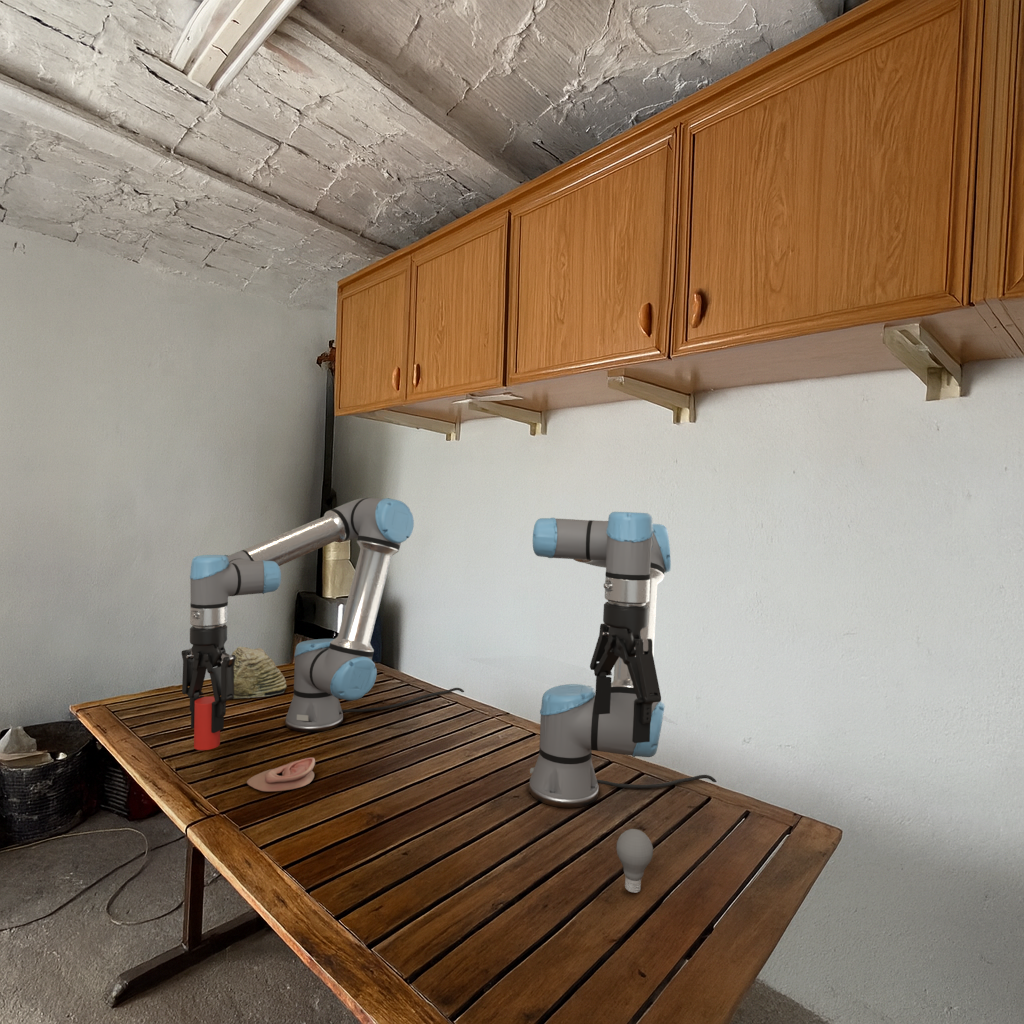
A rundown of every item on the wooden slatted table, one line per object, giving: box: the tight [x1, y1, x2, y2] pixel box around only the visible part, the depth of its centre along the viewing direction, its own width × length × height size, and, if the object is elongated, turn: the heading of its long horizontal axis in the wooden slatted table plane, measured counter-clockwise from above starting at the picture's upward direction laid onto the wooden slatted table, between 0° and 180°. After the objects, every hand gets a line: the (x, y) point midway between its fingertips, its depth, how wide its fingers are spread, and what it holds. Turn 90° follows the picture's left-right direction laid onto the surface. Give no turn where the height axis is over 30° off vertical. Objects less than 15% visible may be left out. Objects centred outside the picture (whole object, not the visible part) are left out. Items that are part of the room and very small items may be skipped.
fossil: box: [231, 646, 288, 699], centre depth 198 cm, size 9×18×15 cm, turn 132°
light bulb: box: [615, 828, 654, 894], centre depth 106 cm, size 6×6×10 cm
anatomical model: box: [246, 757, 316, 792], centre depth 140 cm, size 13×4×12 cm
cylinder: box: [193, 695, 221, 751], centre depth 141 cm, size 5×5×10 cm
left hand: (207, 728), depth 141 cm, fingers closed on cylinder, 5 cm apart
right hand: (620, 726), depth 108 cm, fingers open, 13 cm apart
